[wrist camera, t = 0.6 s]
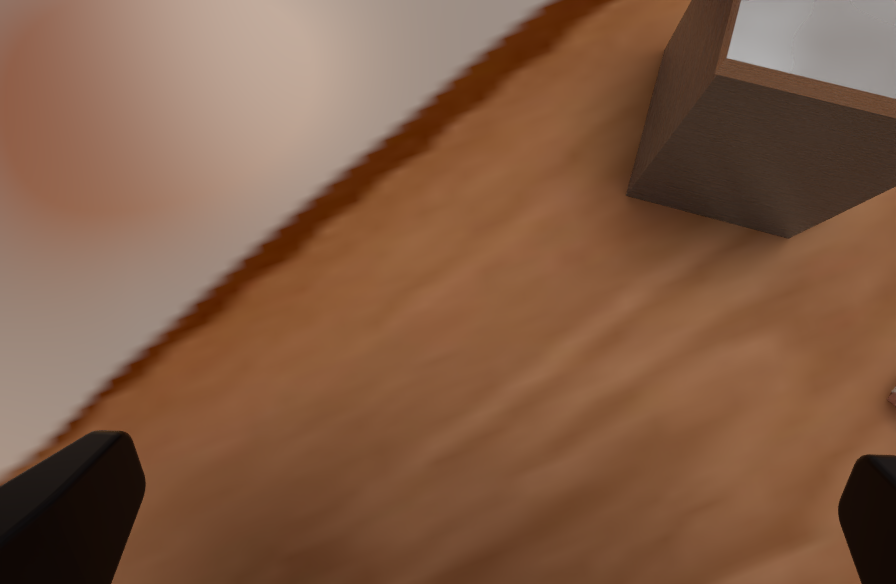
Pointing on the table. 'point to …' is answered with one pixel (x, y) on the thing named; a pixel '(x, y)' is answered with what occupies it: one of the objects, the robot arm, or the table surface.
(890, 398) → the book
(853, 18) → the tin
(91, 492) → the robot arm
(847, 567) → the table surface
